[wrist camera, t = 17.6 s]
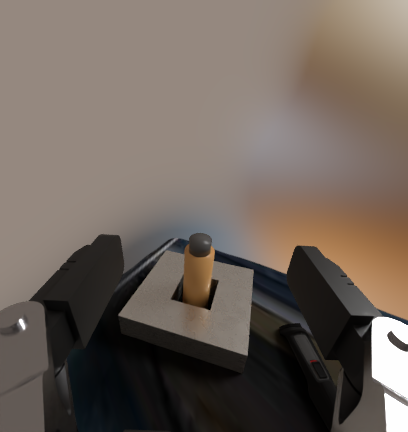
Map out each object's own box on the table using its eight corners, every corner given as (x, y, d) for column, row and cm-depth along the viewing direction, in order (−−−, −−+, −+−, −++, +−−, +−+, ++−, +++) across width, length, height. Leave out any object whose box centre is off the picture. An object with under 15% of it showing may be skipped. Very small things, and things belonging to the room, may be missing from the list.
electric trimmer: (344, 488, 19) (359, 478, 17) (276, 329, 33) (281, 316, 31) (380, 482, 19) (397, 472, 18) (297, 328, 33) (303, 315, 32)
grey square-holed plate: (249, 285, 40) (253, 270, 38) (242, 373, 26) (247, 355, 25) (166, 265, 44) (166, 250, 42) (121, 333, 30) (117, 315, 28)
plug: (210, 299, 37) (218, 234, 30) (204, 320, 33) (212, 251, 26) (187, 293, 37) (190, 228, 31) (178, 313, 34) (180, 244, 27)
